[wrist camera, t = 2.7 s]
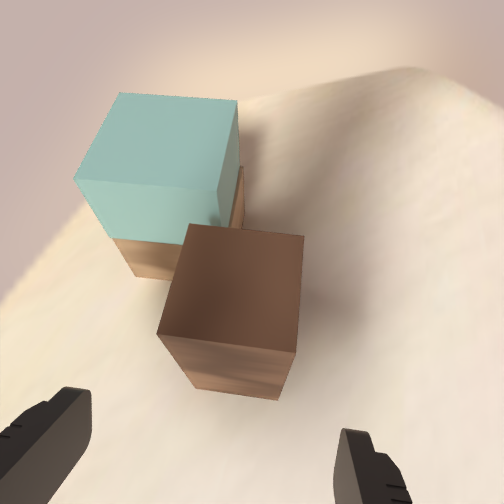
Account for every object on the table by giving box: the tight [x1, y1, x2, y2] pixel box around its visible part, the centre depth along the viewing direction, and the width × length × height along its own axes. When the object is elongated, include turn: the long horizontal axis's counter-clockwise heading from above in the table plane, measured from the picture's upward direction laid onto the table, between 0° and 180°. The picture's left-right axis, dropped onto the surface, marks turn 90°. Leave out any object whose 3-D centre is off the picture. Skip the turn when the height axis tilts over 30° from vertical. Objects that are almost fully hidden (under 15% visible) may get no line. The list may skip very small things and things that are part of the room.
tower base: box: [112, 167, 245, 281], centre depth 24 cm, size 7×7×5 cm
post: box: [157, 223, 304, 401], centre depth 18 cm, size 5×5×10 cm
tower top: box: [73, 93, 240, 245], centre depth 20 cm, size 7×7×5 cm
